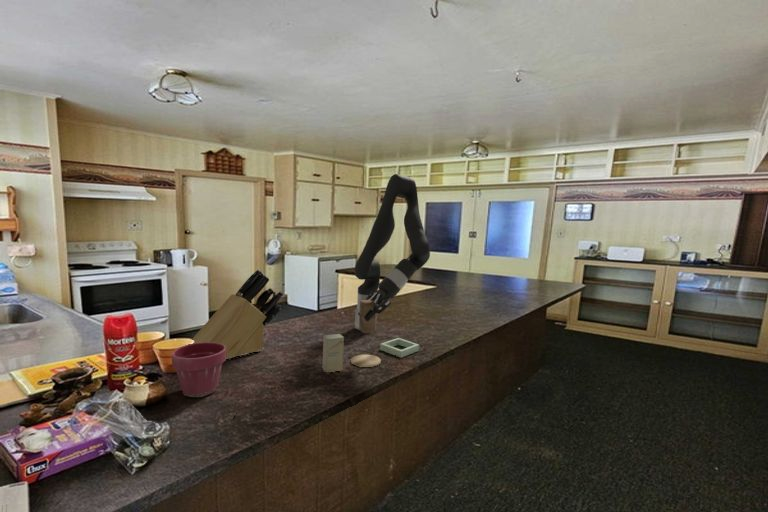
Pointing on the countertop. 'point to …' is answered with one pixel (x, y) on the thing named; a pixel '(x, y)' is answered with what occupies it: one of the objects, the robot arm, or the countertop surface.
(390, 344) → the holder
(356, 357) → the coaster
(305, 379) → the countertop surface
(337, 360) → the skincare box
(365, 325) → the walnut block
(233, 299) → the knife block
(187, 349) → the plant pot
